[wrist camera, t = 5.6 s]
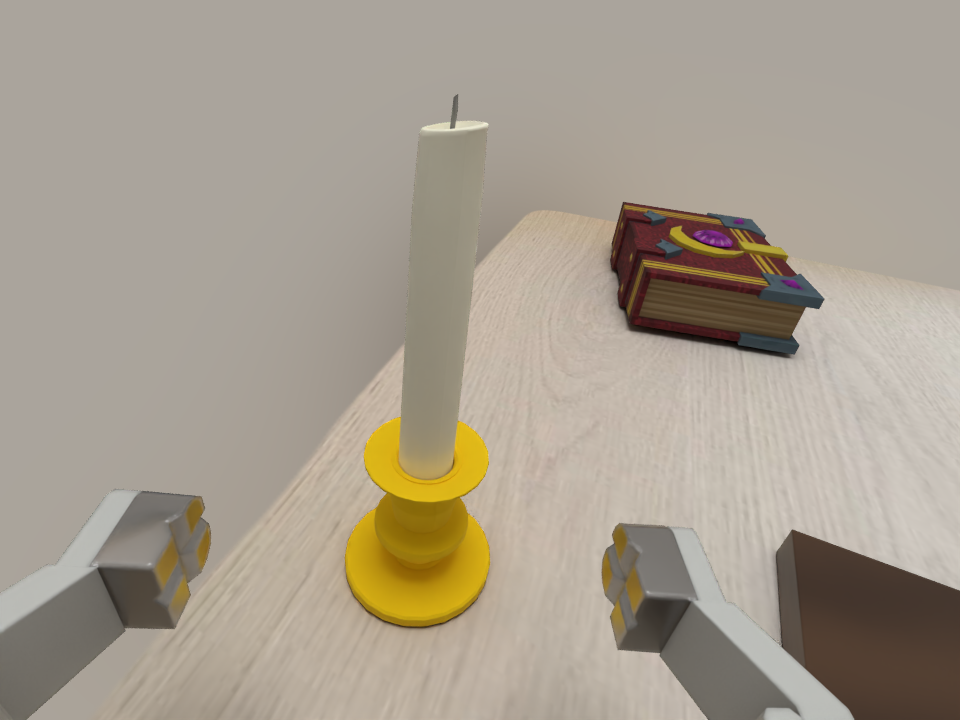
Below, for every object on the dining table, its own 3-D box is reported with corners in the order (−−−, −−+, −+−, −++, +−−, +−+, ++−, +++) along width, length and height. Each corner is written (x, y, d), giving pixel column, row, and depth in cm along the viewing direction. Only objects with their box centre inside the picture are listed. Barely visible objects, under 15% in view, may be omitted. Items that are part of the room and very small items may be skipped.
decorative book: (623, 330, 36) (645, 261, 33) (605, 243, 49) (620, 189, 46) (794, 359, 36) (830, 291, 33) (729, 263, 49) (751, 209, 46)
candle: (315, 590, 18) (267, 82, 10) (389, 486, 22) (403, 66, 14) (456, 654, 17) (547, 138, 8) (507, 531, 21) (603, 102, 13)
